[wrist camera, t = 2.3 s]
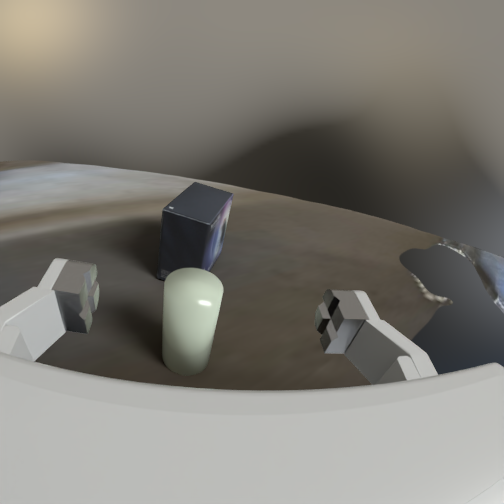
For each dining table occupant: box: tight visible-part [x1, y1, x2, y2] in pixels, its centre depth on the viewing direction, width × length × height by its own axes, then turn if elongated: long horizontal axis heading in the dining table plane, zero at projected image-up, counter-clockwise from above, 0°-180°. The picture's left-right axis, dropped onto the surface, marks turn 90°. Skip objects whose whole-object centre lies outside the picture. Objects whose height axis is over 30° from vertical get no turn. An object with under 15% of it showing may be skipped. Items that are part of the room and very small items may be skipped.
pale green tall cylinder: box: [162, 268, 223, 375], centre depth 29 cm, size 5×5×10 cm
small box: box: [157, 182, 233, 281], centre depth 42 cm, size 11×6×10 cm, turn 168°
